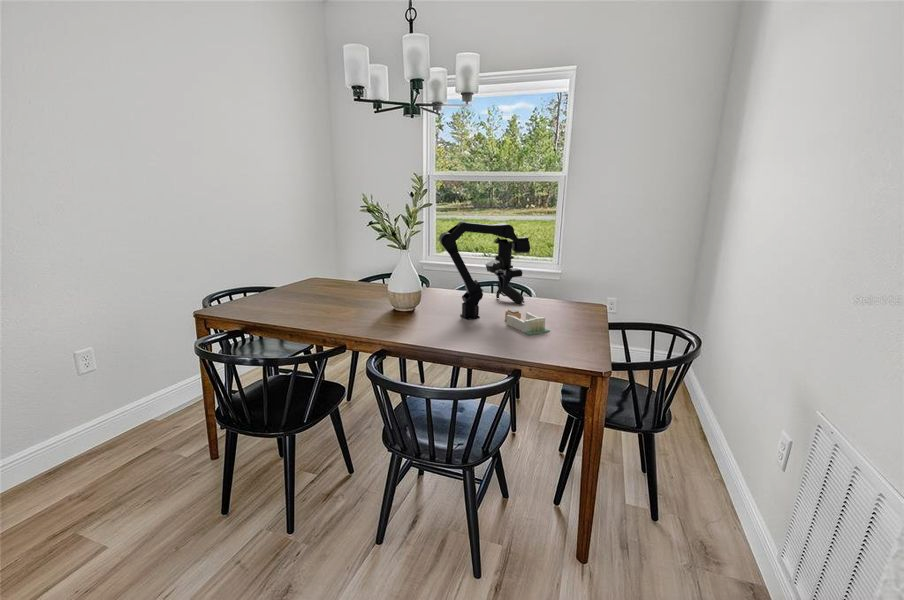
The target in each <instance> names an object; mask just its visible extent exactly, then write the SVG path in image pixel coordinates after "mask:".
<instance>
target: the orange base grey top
mask: <svg viewBox="0 0 904 600" xmlns="http://www.w3.org/2000/svg"><path fill="white" fill-rule="evenodd" d="M504 314H505V315H504V320H505V321H507V315H511V316H515V317H517V318H519V319H521V320H522V312H520V311H519V310H517V309H515V308H511V309H507V310H505V313H504Z"/></svg>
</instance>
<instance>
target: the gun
mask: <svg viewBox="0 0 904 600" xmlns="http://www.w3.org/2000/svg"><path fill="white" fill-rule="evenodd" d="M496 285H497V288H498V289H497V291H496V295H495V297H496V299H497V298H499V299H500V295H501V296H503V297H508V298H509V299H510V300H511V301H512V302H513V303H514V304H516V303H517V304H516V305H520V303H521V304H525V302H526V301H525V297H524V296H523V295H522V294H521V293H520V292H519V291H518V290H517V289H516V288H514V287H513V286H511V285H510V284H508V286H507V288H506V289H505V290H504V289H501V287H500V283H499V282H498V283H497V284H496Z"/></svg>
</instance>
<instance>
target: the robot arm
mask: <svg viewBox="0 0 904 600" xmlns="http://www.w3.org/2000/svg"><path fill="white" fill-rule="evenodd" d="M464 233H476V234H488V235H494V236H497V237H496V239H495V240H494V241H493V243H495V244H497V246H498V249H497V250H498V251H497V255H495V258H494V259H493V260H490V261H489V262H487V263H485V265H484V266H485V268H486V270H487V271H486V272H490V273H491V274H494V276H497V279H498V283H500V287H501V289H504V290H505V289H506V288H507V286H508V285H510V282H511V281H512V279H513V278H519V277H520V278H521V277H523V270H522V269H521V268H516V267H515V268H514V265H512V260H514V256H513V255H512V252H514V254H529V253H530V250H531V244H530V241H529V240H530V239H529V237H527V236H523V237H518V236H517V235H516V234H515V229H514V226H513V225H511V224H508V223H506V222H503V223H494V224H485V223H478V222H477V223H476V222H466V221H458V223H457V224H456V225H454V226H453V227H452V228H449V230H447V231H444V232H442V233H440V235H439V237H438V241H439V244H440V245H441V246H442V248H443V249H445V251H446V252H447V254H448V255H449V257H450V258H451V261H452V262H453V264H454V265H455V268H456V270H457V272H458V273H459V275H460V277H461V279H462V281H463V283H464V288H465V293H464V294H462V296H461V299H462V301H463V302H461V314H459V315H460V317H462V318H464V319H465V320H473V319H479V318H481V316H479V313H480V312H479V311H480V307H479V302H480V301H481V300H482V299H483V296H484V289H483V288H482V286H481V285H480V281H478V280H477V279H475V280H473V277H472V276H471V274H470V272H469V270H468V268H467V266H466V263H465V262H464V260H463V258H462V256H461V254H460V252H459V249H458V245H457V241H458V239H460V237H462V235H463V234H464Z"/></svg>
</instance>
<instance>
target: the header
mask: <svg viewBox="0 0 904 600" xmlns="http://www.w3.org/2000/svg"><path fill="white" fill-rule="evenodd" d="M506 326H510V327H513V328H514V329H516V330H518V331H520V330H521V332H522V333H524V334H526V335H527V336H529V335H530V336H536V335H539V334H545V333H548V332H549V333H550V331H551V330H550V329H549V328H546V327H545V326H546V317H544V316H540V317H539V316H537V315H534V314H532V313H531V312H530V311H526V312H525V320H523V319H522V318H521V319H519V318H517V317H515V316H511V315H507V320H506Z"/></svg>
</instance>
